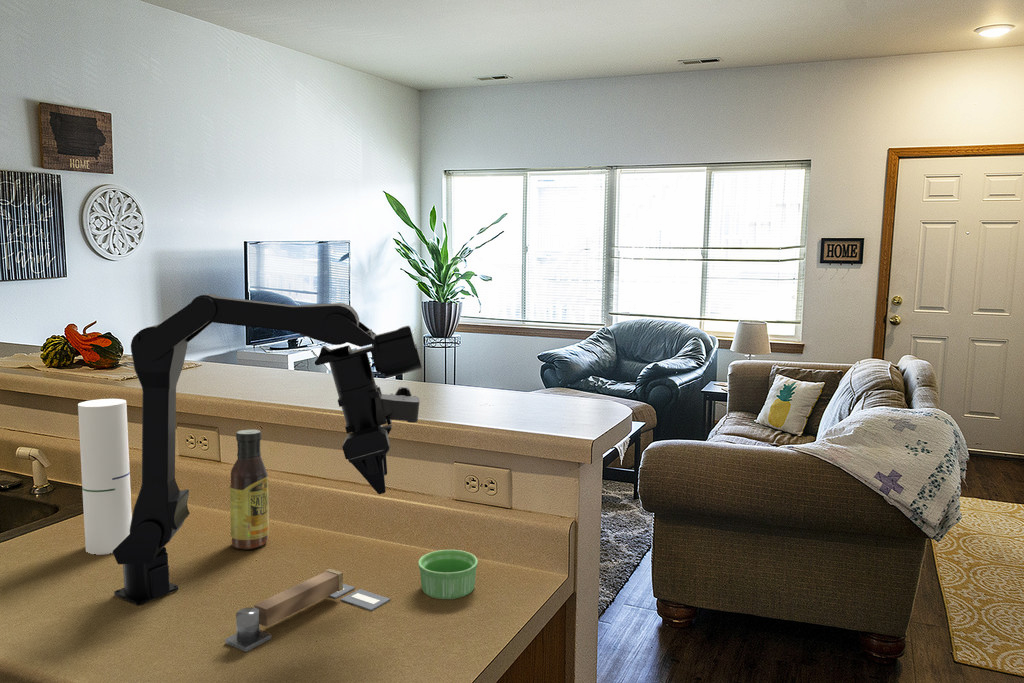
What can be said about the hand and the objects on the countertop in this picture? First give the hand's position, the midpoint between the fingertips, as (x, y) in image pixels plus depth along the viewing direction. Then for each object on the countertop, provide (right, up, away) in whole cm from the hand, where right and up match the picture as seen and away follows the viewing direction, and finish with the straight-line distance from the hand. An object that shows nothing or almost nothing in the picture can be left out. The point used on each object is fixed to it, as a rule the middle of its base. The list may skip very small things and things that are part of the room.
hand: (383, 484), depth 114 cm
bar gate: (-10, -15, -9) cm, 20 cm away
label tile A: (-8, -16, -1) cm, 17 cm away
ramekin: (+10, -16, 0) cm, 19 cm away
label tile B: (-2, -16, -5) cm, 17 cm away
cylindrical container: (-49, -14, +14) cm, 53 cm away
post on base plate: (-15, -17, -17) cm, 28 cm away
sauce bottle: (-26, -14, +16) cm, 33 cm away
